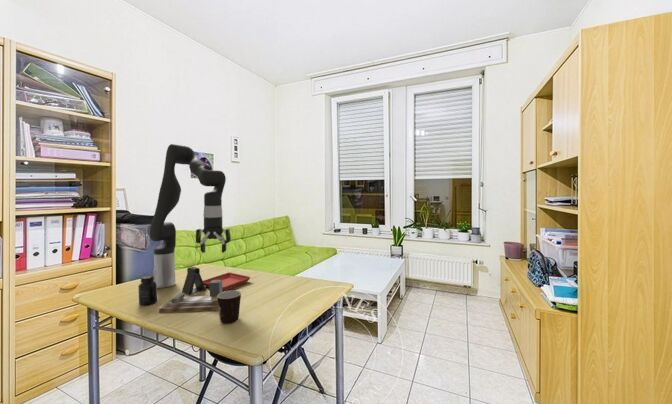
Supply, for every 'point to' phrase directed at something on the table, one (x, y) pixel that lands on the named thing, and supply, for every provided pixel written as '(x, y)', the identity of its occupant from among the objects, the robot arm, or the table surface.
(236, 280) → the plant saucer
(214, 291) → the leg
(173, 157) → the robot arm
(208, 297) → the slider puzzle board
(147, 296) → the supplement bottle
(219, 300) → the coffee mug
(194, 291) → the phone stand
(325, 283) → the table surface
